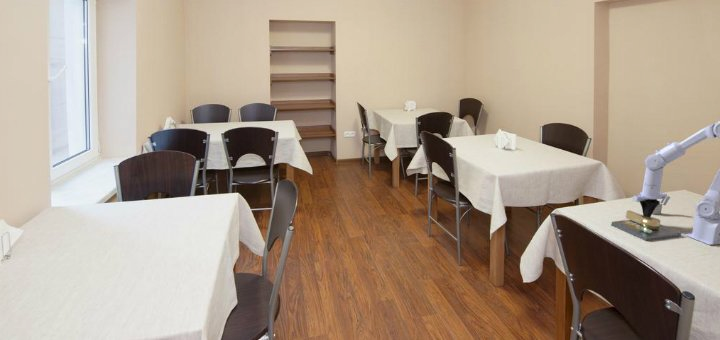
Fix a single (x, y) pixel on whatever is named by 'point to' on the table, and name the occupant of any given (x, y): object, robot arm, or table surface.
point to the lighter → (660, 206)
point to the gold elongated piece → (644, 220)
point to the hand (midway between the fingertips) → (646, 217)
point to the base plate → (643, 235)
